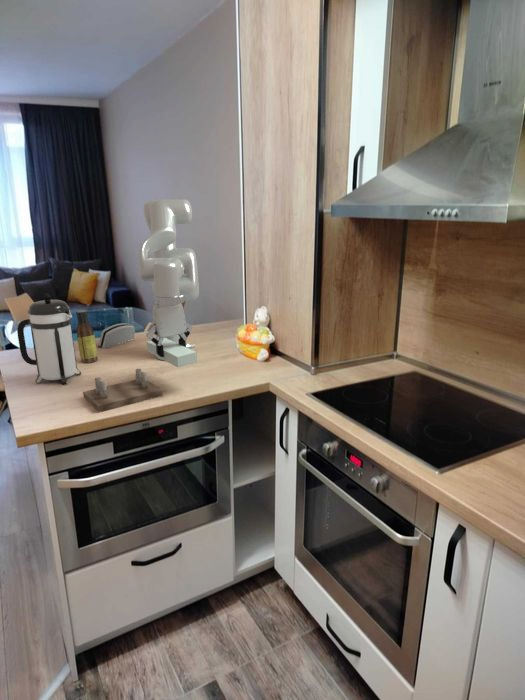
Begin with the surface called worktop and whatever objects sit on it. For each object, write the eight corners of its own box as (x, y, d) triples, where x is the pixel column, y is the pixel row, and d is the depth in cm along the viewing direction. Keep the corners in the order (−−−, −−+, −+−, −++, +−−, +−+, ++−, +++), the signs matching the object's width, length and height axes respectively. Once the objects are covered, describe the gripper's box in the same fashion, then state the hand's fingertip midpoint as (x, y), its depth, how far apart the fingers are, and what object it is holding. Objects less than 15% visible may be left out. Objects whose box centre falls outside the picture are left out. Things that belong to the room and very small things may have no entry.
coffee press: (76, 368, 173) (65, 287, 164) (86, 380, 160) (75, 294, 151) (24, 377, 164) (10, 292, 155) (30, 391, 151) (15, 300, 142)
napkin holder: (127, 338, 213) (130, 318, 208) (134, 342, 211) (137, 323, 206) (96, 346, 200) (98, 326, 195) (103, 352, 198) (106, 331, 193)
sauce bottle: (101, 358, 183) (95, 309, 177) (92, 363, 177) (86, 312, 172) (85, 358, 184) (79, 308, 179) (77, 363, 178) (70, 312, 173)
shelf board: (147, 351, 159) (146, 341, 158) (165, 347, 163) (165, 337, 162) (178, 367, 145) (177, 356, 144) (197, 362, 149) (196, 352, 148)
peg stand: (144, 383, 157) (142, 363, 155) (162, 395, 146) (160, 374, 144) (83, 397, 145) (81, 376, 143) (99, 412, 135) (96, 389, 133)
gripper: (186, 295, 156) (189, 345, 161) (137, 302, 146) (142, 356, 151) (197, 299, 150) (200, 351, 156) (147, 306, 140) (152, 362, 146)
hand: (171, 353), depth 154 cm, fingers closed on shelf board, 7 cm apart
